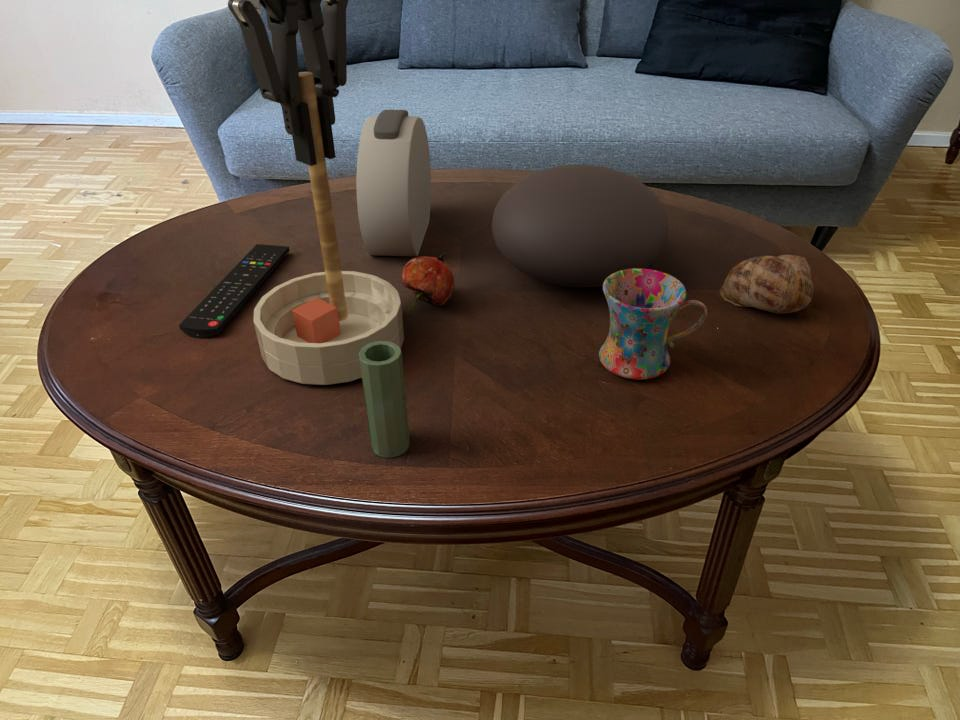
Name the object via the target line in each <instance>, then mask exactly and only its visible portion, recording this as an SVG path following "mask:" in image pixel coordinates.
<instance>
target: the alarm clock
mask: <svg viewBox="0 0 960 720" xmlns="http://www.w3.org/2000/svg"><path fill="white" fill-rule="evenodd" d="M361 129H362V130H361V133H360V137H359V143H358V151H357V158H356V177H355V178H356V204H357V205H356V206H357V216H358V223H359V229H360V234H361V238H362V241H363V245H364V247H365V250H366V252H367V253H368V255H370V256H379V257H381V256H382V257H383V256H384V257H388V256H389V257H411V258H417V257H419V253H420V250H421V247H422V245H423V242H424V238H425V236H426V233H427V231H428V227H429V224H430V219H431V201H432V200H431V199H432V172H431V155H430V145H429V138H428V133H427V129H426V124H425V122H424V120H423V118H421V117H420V116H417V115H415V116H414V115H409V111H408V110H406V109H384V110H382V111H380V113H379V114H378V115H370V116H368V117H367V118H366V119H365V122H364V124H363V127H362V128H361Z"/></svg>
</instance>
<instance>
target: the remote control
mask: <svg viewBox="0 0 960 720" xmlns="http://www.w3.org/2000/svg"><path fill="white" fill-rule="evenodd" d="M290 251H291V250H290V246H289V245H288V246H287V245H274V244H264V243H263V244H262V243H256V244H255V245H254V246H253V247H252V249H250V251H248V253H246V254H245V256H243V258H242V259H241V260H240V261H239V262H237V264H236V265H235V266H234V267H233V268H232V269H231V270H230V271H229V272H228V273H227V274H226V276H225V277H223V279H221V281H220V282H219V283H218V284H216V286H215V287H214V288H213V289H212V290H211V291H210V292H209V293H208V295H206V296H205V297H204V298H203V300H201V302H200V303H198V305H197V306H196V307H195V308H194V309H193V310H192V311H191V312H190V313H189V314H188V315H187V316H186V317H185V318H184V319H183V320H182V321H181V322H180V323H179V324H178V327H179V330H180V331H182V332H183V333H184V334H186V335H187V336H189V337H191V338H196V339H209V338H211V337H213V336H216V335H218V334H219V333H220V332H221V331H222V330H223V329H224V327H225V326H226V325H227V324H228V323H229V322H230V320H231V319H233V317H234V316H235V315H236V313H238V311H239V310H240V309H241V308H242V307H243V305H244V304H245V303H246V302H247V301H248V300H249V298H250V297H251V296H253V294H254V293H255V292H256V291H257V289H258V288H259V287H260V286H261V285H262V284H263V282H264V281H265V280H266V279H267V278H268V276H269V275H270V274H271V273H273V271H274V269H275V268H277V266H278V265H279V264H280V263H281V261H282V260H283V259H284V258H285V257H286V256H287V255H288V254H289V252H290Z"/></svg>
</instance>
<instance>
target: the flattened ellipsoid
mask: <svg viewBox="0 0 960 720" xmlns="http://www.w3.org/2000/svg"><path fill="white" fill-rule="evenodd" d="M491 220H492V222H491V230H492V236H493V239H494V242H495V245H496V246H497V248H498V250H499V251H500V253H501V254H502V256H503V257H504V258H505V259H506V260H507V261H508V262H509V263H510V264H512V265H513V266H514V267H515V268H516V269H518V270H519V271H520V272H522V273H524V274H526V275H528V276H530V277H532V278H534V279H537V280H539V281H541V282H545V283H548V284H552V285H554V286H555V285H556V286H560V287H570V288H594V287H603V283H604V281H605V279H606V278H607V277H608V276H610V275H611V274H613V273H615V272H618V271H621V270H626V269H647V268H648V266H650V265H651V264H652V263H653V262H655V260H656V259H657V258H658V256H659V255H660V254H661V252H662V250H664V248H665V246H666V243H667V240H668V237H669V230H670V228H669V217H668V215H667V212H666V209H665V206H664V204H663V202H662V201H661V199H660V198H659V197H658V196H657V195H656V193H655V192H654V191H653V190H652V189H651V188H650V187H649V186H647V185H646V184H645V183H643V182H641V181H640V180H639V179H637V178H636V177H634V176H632V175H630V174H628V173H625V172H622V171H619V170H616V169H614V168H611V167H607V166H601V165H595V164H579V163H578V164H565V165H557V166H552V167H549V168H545V169H542V170H537V171H535V172H533V173H531V174H529V175H527V176H526V177H524V178H521V179H520V180H519V181H517V182H515V183H514V184H513V185H512V186H511V187H510V188H509V189H507V191H506V192H504V193H503V194H502V195H501V198H500V199H499V201H498V203H497V205H496V206H495V208H494V210H493V214H492V219H491Z"/></svg>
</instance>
